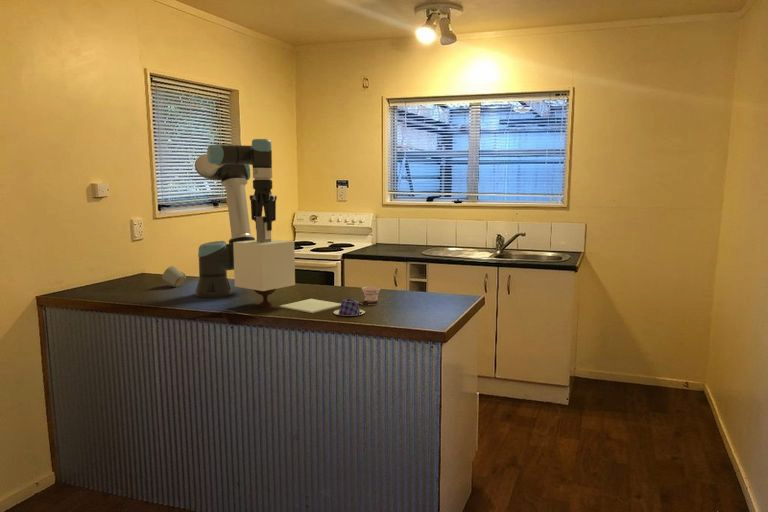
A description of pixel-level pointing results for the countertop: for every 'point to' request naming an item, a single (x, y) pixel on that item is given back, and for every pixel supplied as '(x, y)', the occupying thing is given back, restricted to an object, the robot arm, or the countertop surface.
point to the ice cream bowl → (265, 297)
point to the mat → (311, 305)
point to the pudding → (349, 308)
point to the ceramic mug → (174, 276)
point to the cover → (264, 262)
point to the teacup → (371, 294)
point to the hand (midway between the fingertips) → (263, 238)
